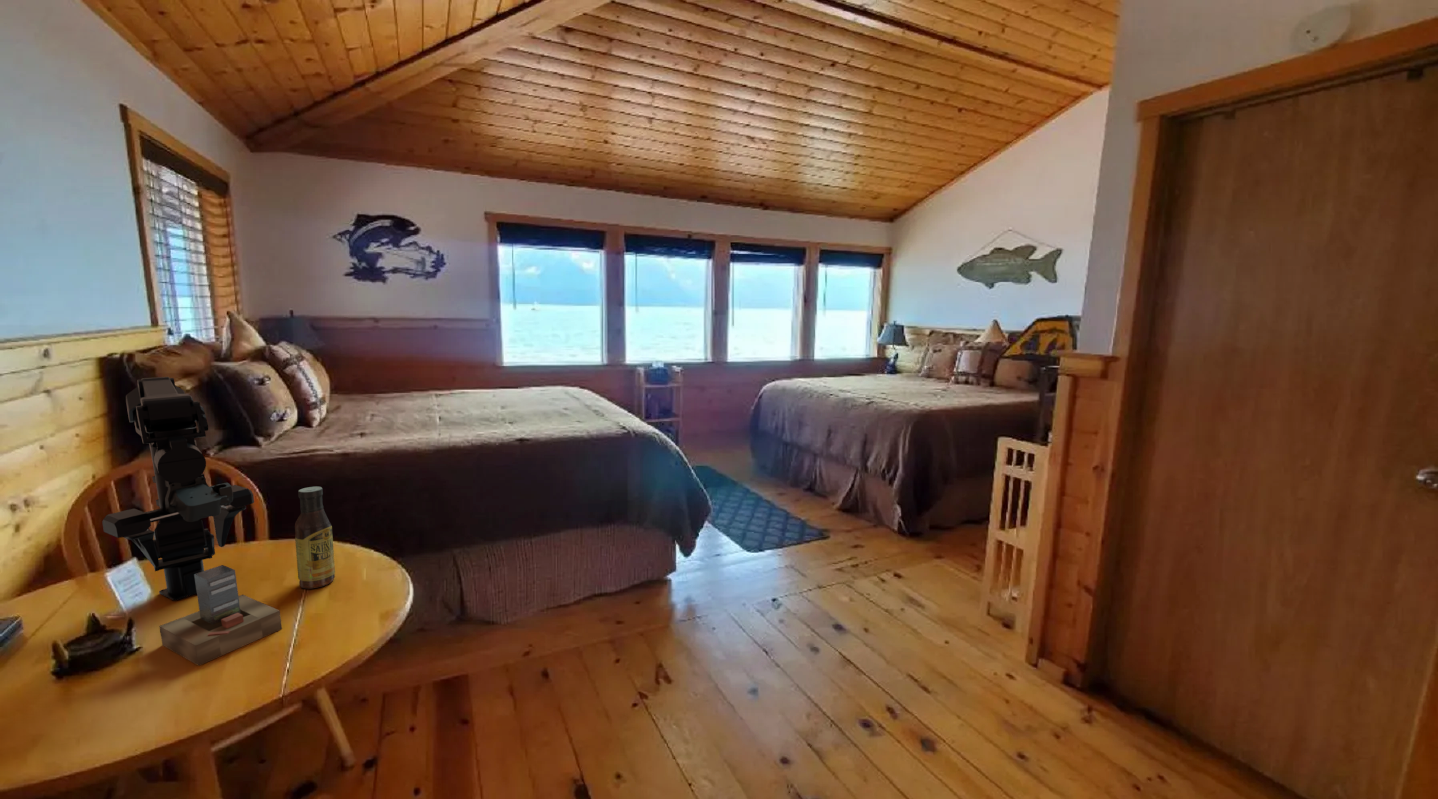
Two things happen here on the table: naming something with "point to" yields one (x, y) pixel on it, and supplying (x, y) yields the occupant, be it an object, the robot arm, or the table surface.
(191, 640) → the stand base
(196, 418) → the robot arm
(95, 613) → the table surface
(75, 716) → the table surface
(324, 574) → the sauce bottle
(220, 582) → the column
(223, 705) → the table surface
